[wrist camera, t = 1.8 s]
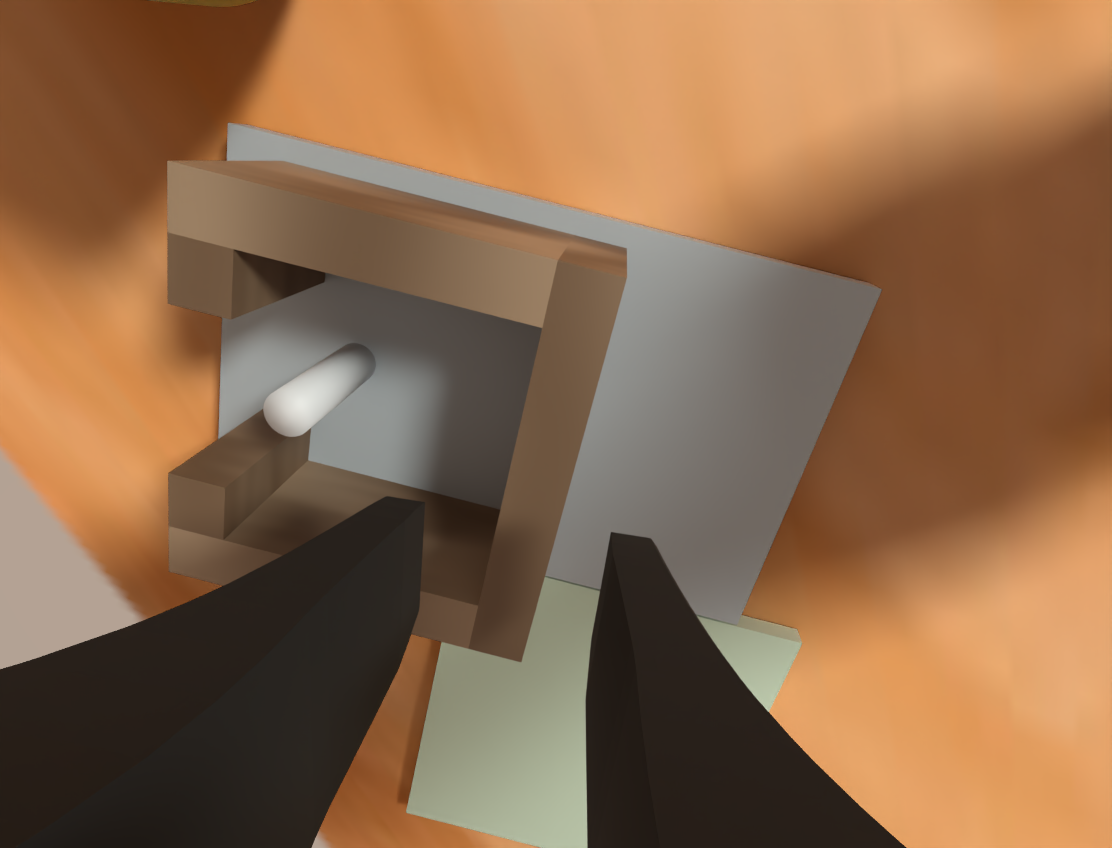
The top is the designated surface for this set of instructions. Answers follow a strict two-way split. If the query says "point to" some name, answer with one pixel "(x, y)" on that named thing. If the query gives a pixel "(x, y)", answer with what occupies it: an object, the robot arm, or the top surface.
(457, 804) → the pad
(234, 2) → the flower pot
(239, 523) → the c link
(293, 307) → the stand
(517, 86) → the top surface
